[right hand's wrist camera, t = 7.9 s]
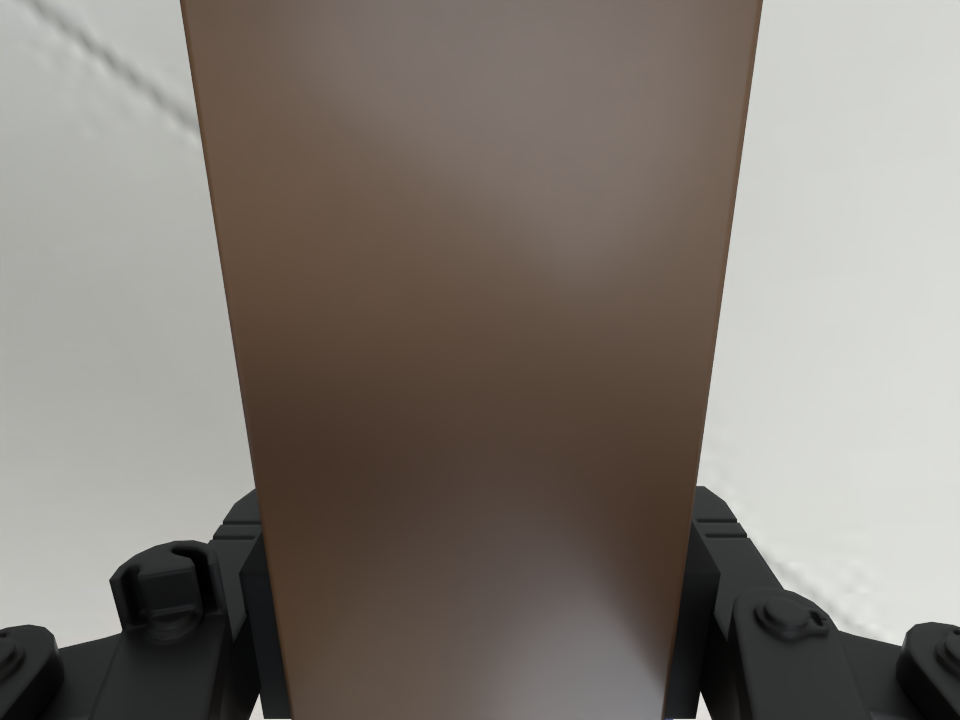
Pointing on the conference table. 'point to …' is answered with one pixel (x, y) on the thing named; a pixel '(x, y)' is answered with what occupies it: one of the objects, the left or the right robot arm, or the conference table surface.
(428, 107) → the beam
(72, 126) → the conference table surface
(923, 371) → the conference table surface
